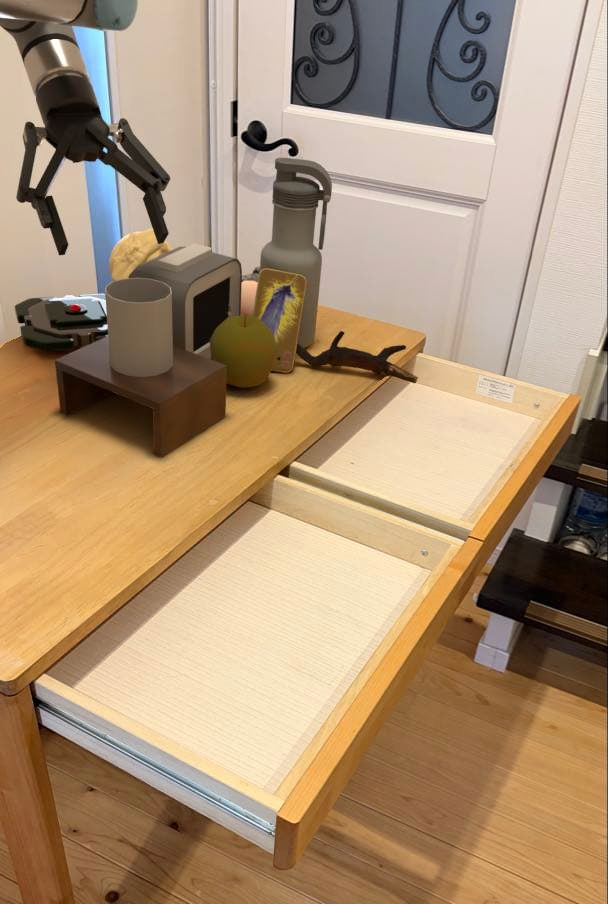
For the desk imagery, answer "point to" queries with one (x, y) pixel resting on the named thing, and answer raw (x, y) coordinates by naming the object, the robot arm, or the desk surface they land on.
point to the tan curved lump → (134, 253)
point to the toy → (357, 359)
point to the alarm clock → (196, 292)
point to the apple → (244, 350)
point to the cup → (139, 326)
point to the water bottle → (298, 232)
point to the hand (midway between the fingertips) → (115, 244)
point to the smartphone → (281, 311)
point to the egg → (248, 297)
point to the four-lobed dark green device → (62, 321)
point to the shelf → (149, 391)
